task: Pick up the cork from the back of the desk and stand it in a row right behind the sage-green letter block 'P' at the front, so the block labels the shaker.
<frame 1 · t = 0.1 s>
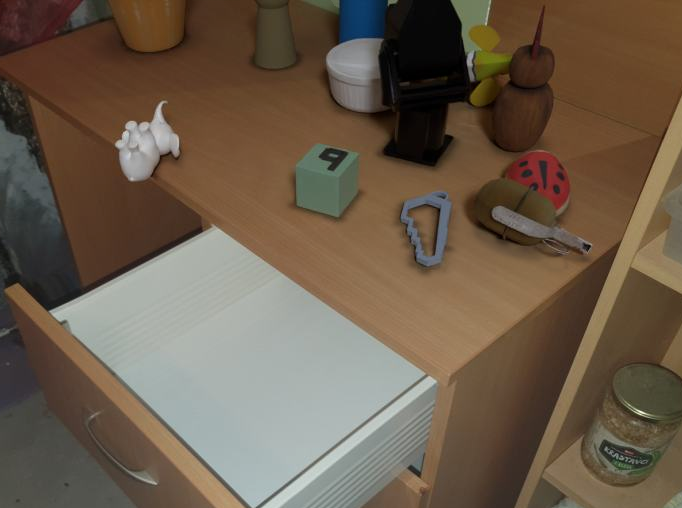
elephant figurine: (139, 117, 80), point 6 cm above the table
letter block: (327, 199, 79), on the table
beverage can: (361, 59, 102), on the table
fish toy: (450, 67, 87), point 5 cm above the table
ladybug figurine: (534, 196, 77), on the table
ramekin: (368, 97, 94), on the table
key tool: (397, 228, 74), on the table
grenade: (475, 192, 72), point 4 cm above the table
flower pot: (154, 41, 109), on the table
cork: (275, 60, 103), on the table
wooden figurine: (514, 145, 85), on the table
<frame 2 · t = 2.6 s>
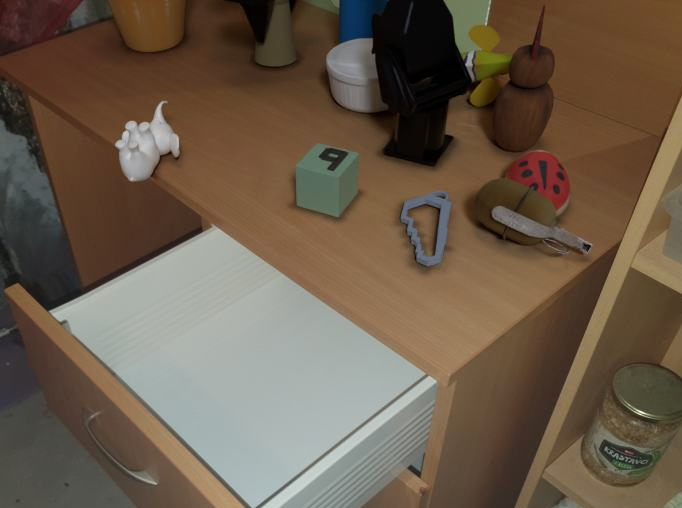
hand: (272, 32, 101), 4 cm above the table, tool pointing down, fingers closed on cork, 6 cm apart
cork: (275, 59, 103), on the table, touching gripper
everything else where it was.
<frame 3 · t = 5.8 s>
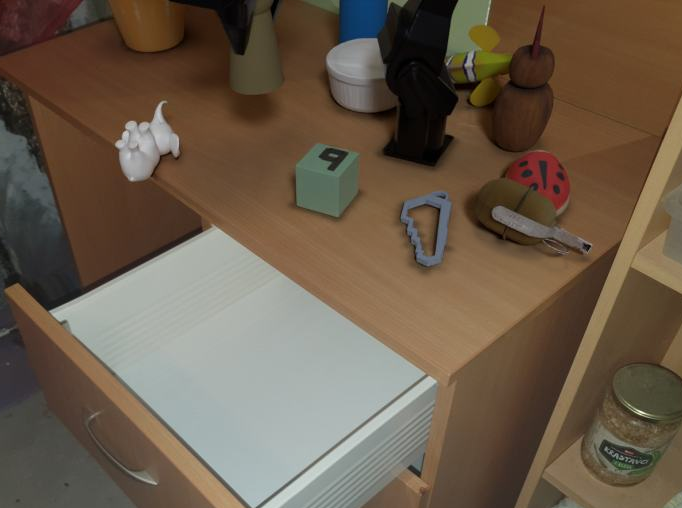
hand: (252, 45, 76), 13 cm above the table, tool pointing down, fingers closed on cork, 4 cm apart
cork: (257, 83, 79), point 9 cm above the table, touching gripper
everything else where it was.
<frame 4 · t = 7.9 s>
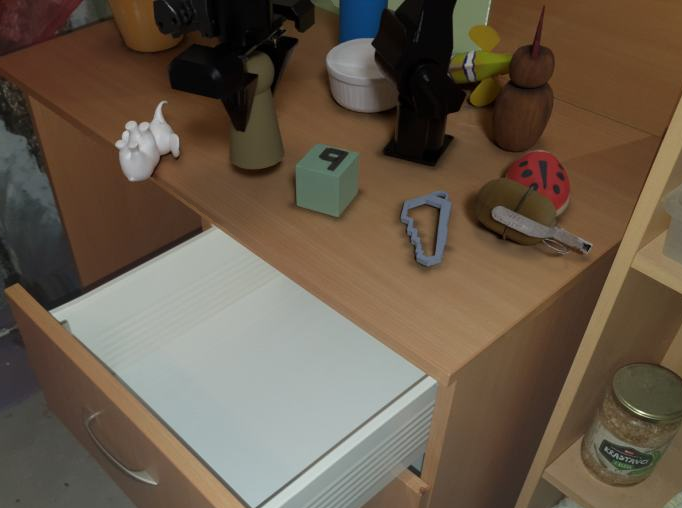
hand: (252, 120, 77), 7 cm above the table, tool pointing down, fingers closed on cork, 4 cm apart
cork: (257, 156, 79), point 3 cm above the table, touching gripper
everything else where it was.
when the fingers open (4 cm above the table, at t = 9.1 s): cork stays where it is, on the table.
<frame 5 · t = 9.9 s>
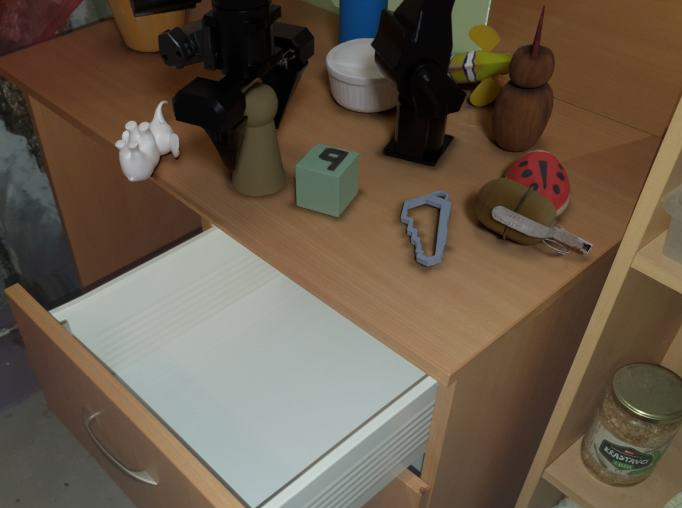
hand: (253, 147, 79), 4 cm above the table, tool pointing down, fingers open, 9 cm apart
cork: (259, 182, 82), on the table
everything else where it was.
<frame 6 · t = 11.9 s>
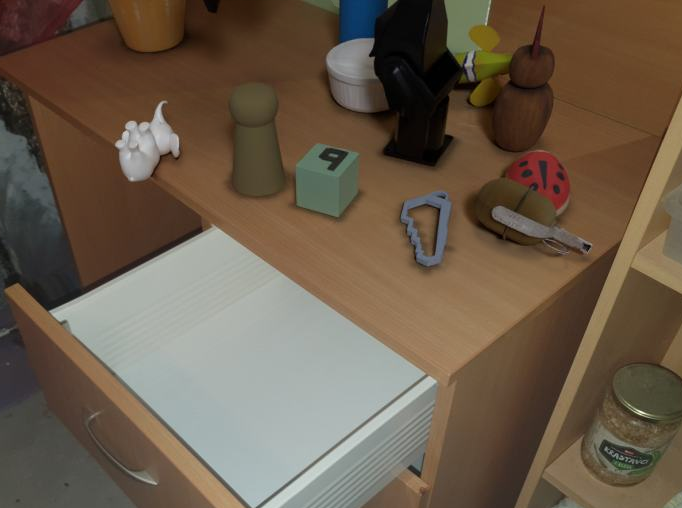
nothing on the table moved.
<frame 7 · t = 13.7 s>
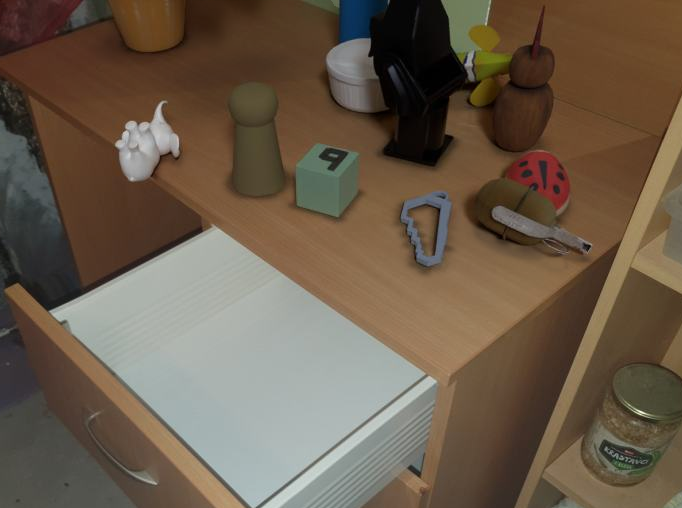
nothing on the table moved.
at the end: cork 0.4 cm from the target spot on the table beside the letter block, on the table; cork tilted 0°; letter block moved 0.0 cm from its start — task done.
